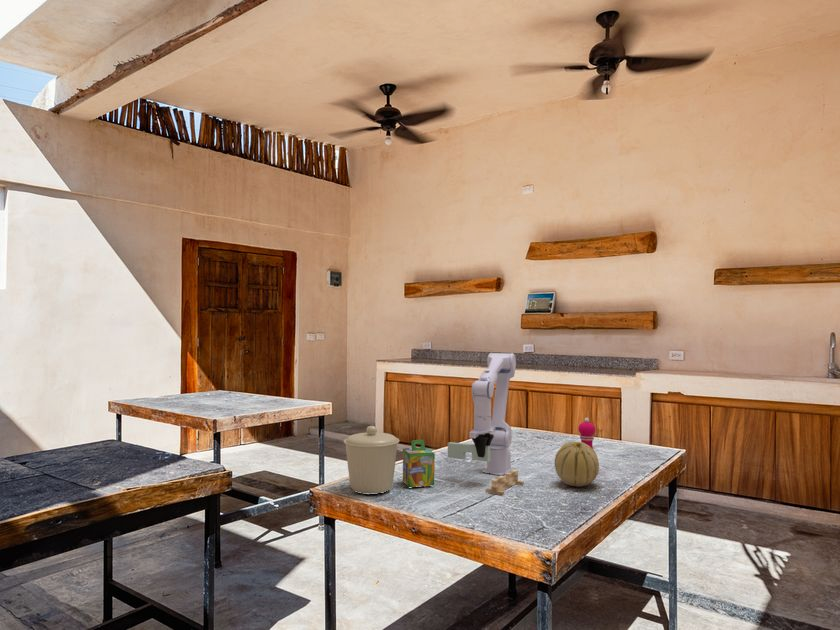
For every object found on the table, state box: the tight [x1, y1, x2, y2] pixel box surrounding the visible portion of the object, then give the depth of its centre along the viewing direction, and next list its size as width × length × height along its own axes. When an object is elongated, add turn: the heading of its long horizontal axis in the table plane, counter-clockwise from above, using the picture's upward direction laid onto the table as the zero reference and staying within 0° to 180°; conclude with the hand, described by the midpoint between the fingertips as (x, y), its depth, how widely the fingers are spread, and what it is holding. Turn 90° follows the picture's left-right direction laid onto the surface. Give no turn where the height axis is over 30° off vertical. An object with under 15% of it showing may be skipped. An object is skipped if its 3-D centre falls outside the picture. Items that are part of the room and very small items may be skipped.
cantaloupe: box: [554, 441, 600, 488], centre depth 192 cm, size 15×15×15 cm
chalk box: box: [402, 439, 436, 488], centre depth 193 cm, size 9×9×15 cm
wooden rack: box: [485, 469, 525, 496], centre depth 189 cm, size 16×6×4 cm, turn 145°
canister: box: [343, 425, 400, 493], centre depth 186 cm, size 18×18×21 cm
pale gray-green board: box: [447, 441, 490, 463], centre depth 197 cm, size 2×16×5 cm, turn 54°
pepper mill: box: [577, 417, 596, 450], centre depth 210 cm, size 7×7×20 cm
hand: (482, 456), depth 194 cm, fingers closed on pale gray-green board, 2 cm apart
